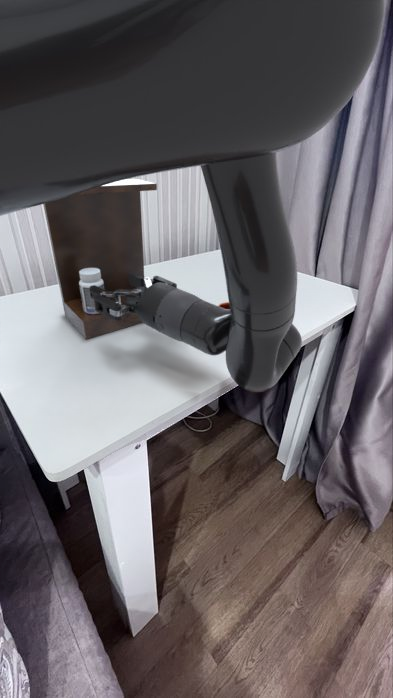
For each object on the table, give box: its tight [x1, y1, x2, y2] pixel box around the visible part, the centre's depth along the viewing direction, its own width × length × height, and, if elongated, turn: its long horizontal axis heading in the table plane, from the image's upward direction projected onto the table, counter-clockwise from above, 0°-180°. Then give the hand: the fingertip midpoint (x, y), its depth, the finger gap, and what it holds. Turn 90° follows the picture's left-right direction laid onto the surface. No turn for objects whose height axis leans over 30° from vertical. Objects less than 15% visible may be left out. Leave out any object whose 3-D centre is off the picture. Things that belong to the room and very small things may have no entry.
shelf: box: [42, 178, 158, 340], centre depth 69 cm, size 20×12×27 cm, turn 127°
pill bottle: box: [79, 268, 104, 314], centre depth 67 cm, size 5×5×8 cm
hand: (111, 284), depth 61 cm, fingers open, 8 cm apart
